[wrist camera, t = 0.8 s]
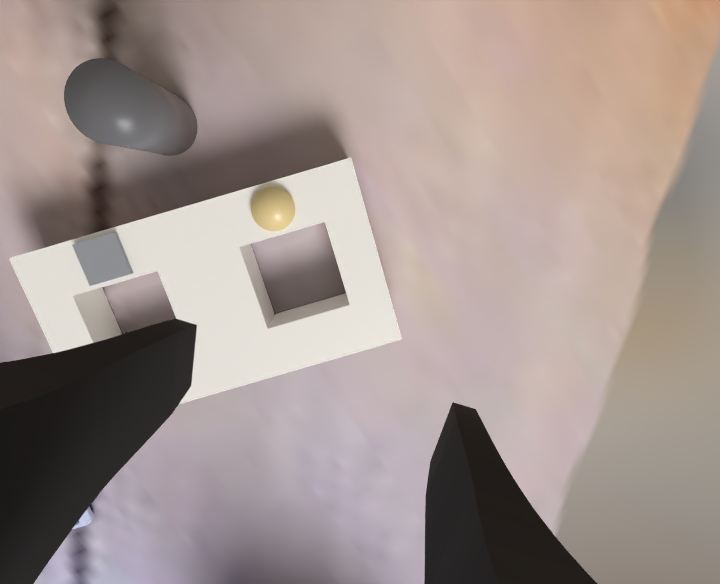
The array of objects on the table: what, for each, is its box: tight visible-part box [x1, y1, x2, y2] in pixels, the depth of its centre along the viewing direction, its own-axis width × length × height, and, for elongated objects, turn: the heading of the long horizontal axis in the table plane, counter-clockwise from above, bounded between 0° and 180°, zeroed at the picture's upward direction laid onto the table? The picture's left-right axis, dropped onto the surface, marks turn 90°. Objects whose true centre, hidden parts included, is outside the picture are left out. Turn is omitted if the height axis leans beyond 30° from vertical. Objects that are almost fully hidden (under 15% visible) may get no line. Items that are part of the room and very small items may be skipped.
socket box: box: [9, 158, 402, 404], centre depth 26 cm, size 18×10×3 cm, turn 106°
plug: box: [64, 58, 197, 156], centre depth 22 cm, size 3×3×7 cm
